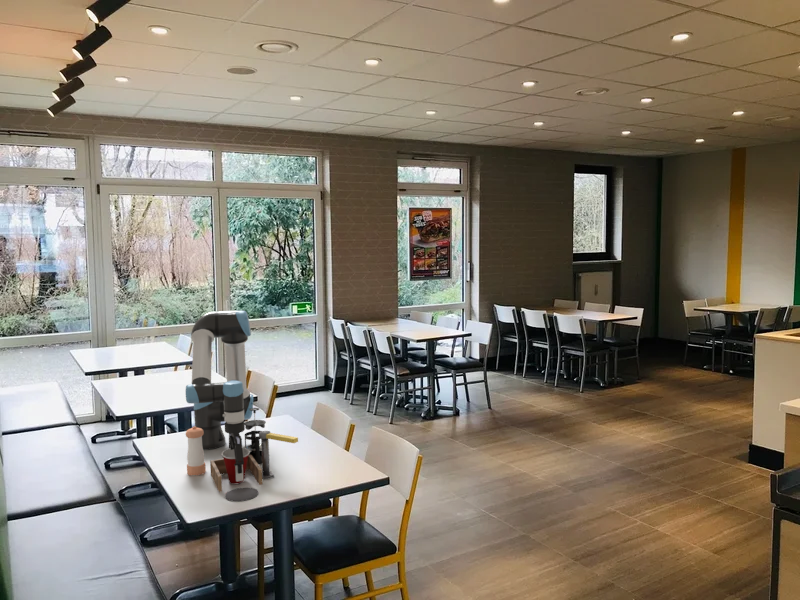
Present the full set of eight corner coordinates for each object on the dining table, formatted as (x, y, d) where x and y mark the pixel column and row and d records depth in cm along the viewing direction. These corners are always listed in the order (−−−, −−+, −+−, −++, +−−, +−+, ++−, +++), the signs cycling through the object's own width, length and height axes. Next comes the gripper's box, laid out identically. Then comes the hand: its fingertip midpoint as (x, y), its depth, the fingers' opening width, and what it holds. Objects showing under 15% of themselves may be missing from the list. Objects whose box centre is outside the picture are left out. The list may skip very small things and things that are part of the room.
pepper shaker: (204, 474, 262) (202, 428, 260) (185, 476, 260) (183, 429, 259) (206, 468, 269) (204, 423, 267) (188, 470, 268) (186, 424, 266)
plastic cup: (228, 488, 246) (227, 458, 245) (218, 480, 255) (217, 450, 254) (255, 482, 252) (254, 452, 251) (244, 474, 261) (243, 445, 260)
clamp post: (258, 475, 260) (257, 437, 258) (271, 473, 262) (269, 436, 260) (261, 479, 255) (259, 441, 254) (273, 477, 257) (272, 439, 256)
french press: (269, 463, 274) (267, 410, 272) (247, 466, 270) (245, 412, 268) (264, 455, 285) (262, 403, 283) (243, 458, 281) (240, 406, 279)
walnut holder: (210, 475, 261) (210, 460, 261) (251, 468, 268) (251, 454, 268) (218, 492, 243) (218, 476, 242) (262, 484, 250) (261, 469, 249)
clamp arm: (292, 444, 247) (292, 439, 247) (256, 438, 256) (256, 433, 256) (299, 441, 251) (299, 436, 250) (264, 435, 260) (264, 430, 260)
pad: (222, 492, 243) (222, 490, 243) (254, 486, 248) (254, 485, 247) (228, 503, 232) (228, 502, 232) (261, 497, 237) (261, 496, 237)
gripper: (219, 415, 261) (221, 468, 263) (230, 430, 239) (232, 487, 241) (238, 413, 264) (240, 465, 266) (250, 427, 242) (252, 484, 244)
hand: (236, 475), depth 253 cm, fingers open, 11 cm apart
